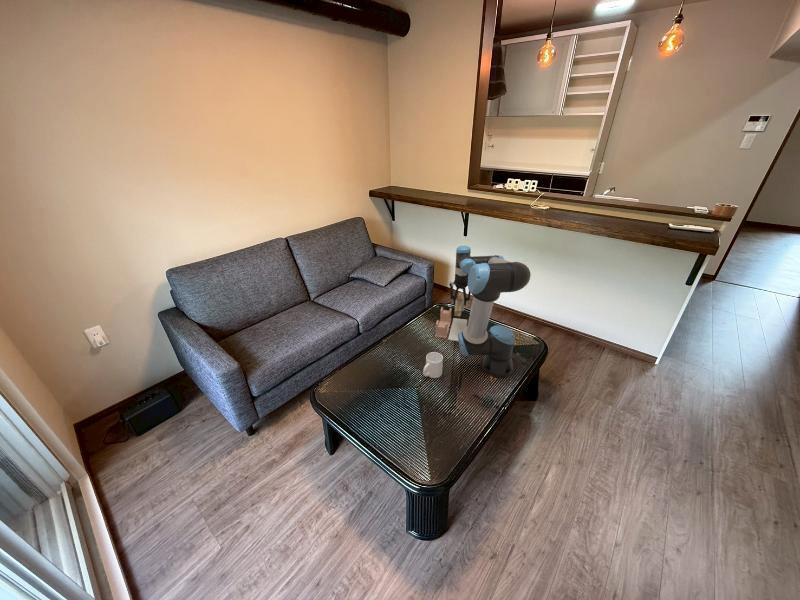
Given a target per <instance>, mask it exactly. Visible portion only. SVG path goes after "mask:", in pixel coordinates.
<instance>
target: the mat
mask: <svg viewBox="0 0 800 600" xmlns="http://www.w3.org/2000/svg"><path fill="white" fill-rule="evenodd" d="M466 326H468V319H466V318H465V319H464V318H457V317H453V318H452V321H451V325H450V328H449V332H448V336H447V340H448V341H451V342H452V341H454V342H459V340H458V333H459V332H463V330H464V328H465V327H466Z"/></svg>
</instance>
